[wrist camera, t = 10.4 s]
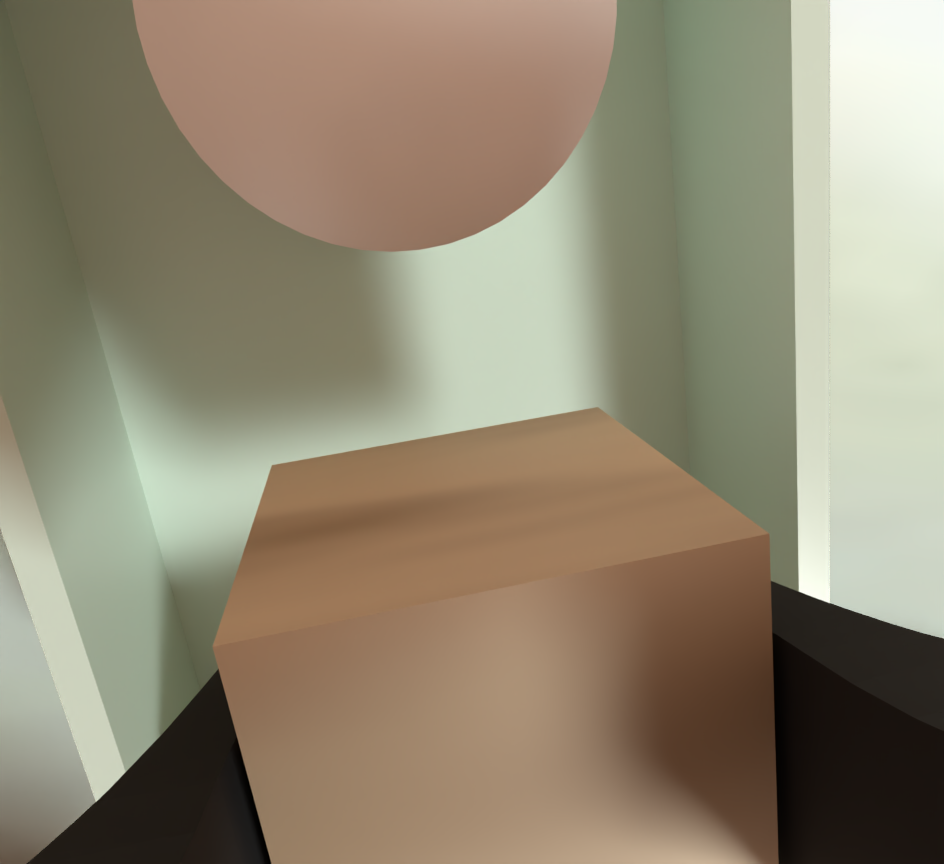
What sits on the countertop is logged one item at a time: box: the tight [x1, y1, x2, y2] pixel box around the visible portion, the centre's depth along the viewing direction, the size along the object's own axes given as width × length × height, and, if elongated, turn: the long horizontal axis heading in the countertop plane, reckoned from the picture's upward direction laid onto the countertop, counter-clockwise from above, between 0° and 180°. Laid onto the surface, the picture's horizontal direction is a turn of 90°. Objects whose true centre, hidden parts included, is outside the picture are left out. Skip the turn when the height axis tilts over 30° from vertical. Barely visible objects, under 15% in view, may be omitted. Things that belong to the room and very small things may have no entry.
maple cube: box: [213, 407, 779, 864], centre depth 10 cm, size 5×5×5 cm
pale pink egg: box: [132, 0, 617, 252], centre depth 11 cm, size 5×5×7 cm
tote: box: [0, 0, 830, 802], centre depth 14 cm, size 17×13×5 cm
